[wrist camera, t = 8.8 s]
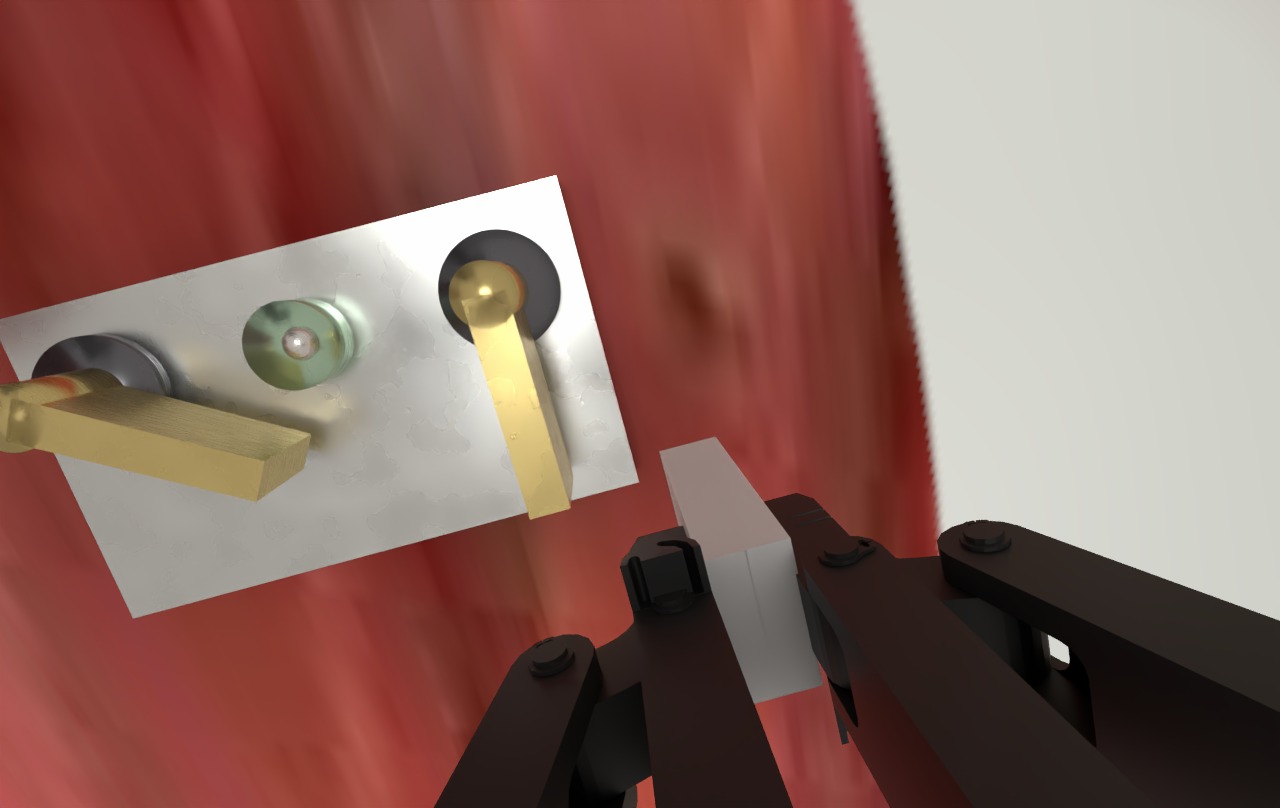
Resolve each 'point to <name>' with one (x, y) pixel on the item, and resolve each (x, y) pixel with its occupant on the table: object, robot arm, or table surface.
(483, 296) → the knob
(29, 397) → the knob
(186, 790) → the table surface
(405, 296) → the levelling plate
